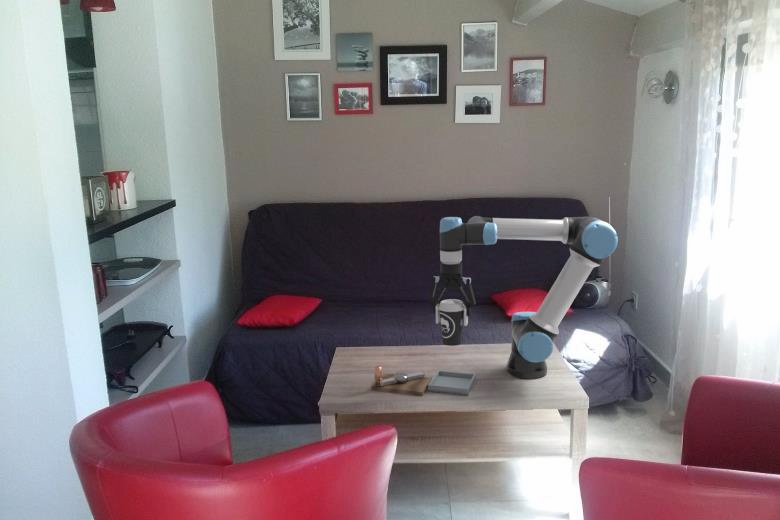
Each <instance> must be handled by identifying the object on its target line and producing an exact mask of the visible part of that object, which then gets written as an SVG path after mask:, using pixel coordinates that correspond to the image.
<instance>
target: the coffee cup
mask: <svg viewBox="0 0 780 520" xmlns="http://www.w3.org/2000/svg"><path fill="white" fill-rule="evenodd" d="M438 304H439V306H438V309H439V311H440V325H441V328H440V329H441V337H442V344H443V345H445V346H450V347H454V346H460V345H461V344H462V337H463V326H464V307H465V304H464V302H463V300H462V299H455V298H454V299H453V298H449V299H443V300H441V301H440V303H438Z"/></svg>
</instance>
